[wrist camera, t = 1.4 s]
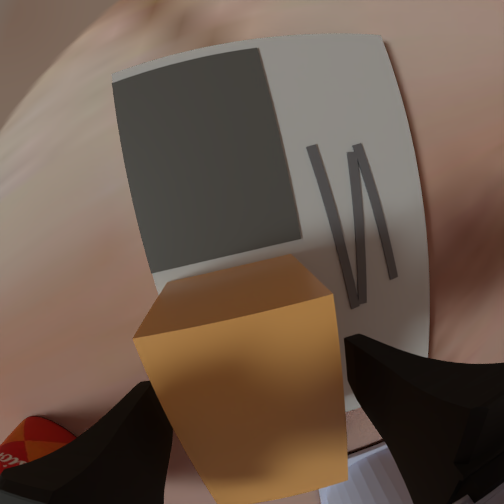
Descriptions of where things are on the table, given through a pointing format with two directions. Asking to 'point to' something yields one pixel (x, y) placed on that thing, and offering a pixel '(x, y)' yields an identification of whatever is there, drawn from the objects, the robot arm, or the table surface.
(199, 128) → the board
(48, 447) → the coffee cup
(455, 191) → the table surface
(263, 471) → the block
